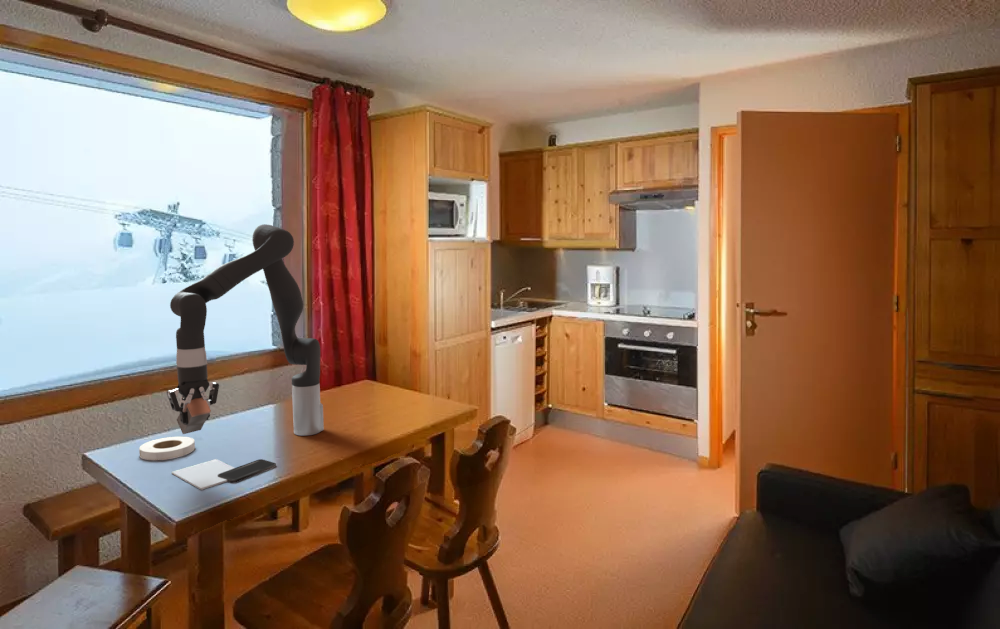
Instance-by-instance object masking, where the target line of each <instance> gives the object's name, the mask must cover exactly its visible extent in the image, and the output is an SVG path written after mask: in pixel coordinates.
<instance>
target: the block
mask: <svg viewBox="0 0 1000 629" xmlns="http://www.w3.org/2000/svg"><path fill="white" fill-rule="evenodd" d="M211 411H212V410H211V408H209V406H208V404H207V402H206V400H203V399H202V397H201V398H195V399H193V400H191V402H190V404H187V411H186V412H188V425H184V424H183V423H181V421H180V413H179V414H178V416H177V418H176V422H177V424H178V426H179V428H180V431H181V433H182V435H185V434H190V433H195V432H198V431H201V430H202V429H203V426H204V425H205V423H206V421H207V420H206V419H207V417H208V415H209V414H210V415H211Z"/></svg>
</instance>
